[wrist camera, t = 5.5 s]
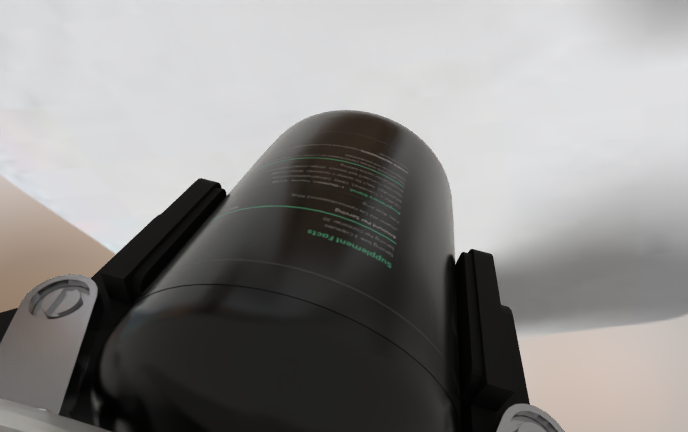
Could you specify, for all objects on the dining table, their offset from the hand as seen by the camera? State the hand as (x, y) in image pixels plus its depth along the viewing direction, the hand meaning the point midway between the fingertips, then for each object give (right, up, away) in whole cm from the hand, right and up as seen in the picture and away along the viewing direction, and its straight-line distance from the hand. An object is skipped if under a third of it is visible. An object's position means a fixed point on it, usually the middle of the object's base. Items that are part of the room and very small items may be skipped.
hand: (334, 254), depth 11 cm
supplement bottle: (+1, +2, +3) cm, 3 cm away
